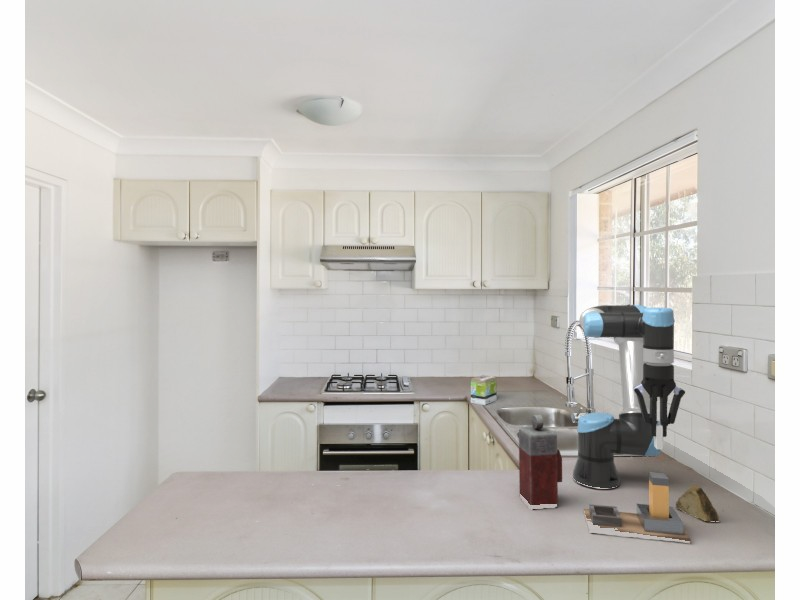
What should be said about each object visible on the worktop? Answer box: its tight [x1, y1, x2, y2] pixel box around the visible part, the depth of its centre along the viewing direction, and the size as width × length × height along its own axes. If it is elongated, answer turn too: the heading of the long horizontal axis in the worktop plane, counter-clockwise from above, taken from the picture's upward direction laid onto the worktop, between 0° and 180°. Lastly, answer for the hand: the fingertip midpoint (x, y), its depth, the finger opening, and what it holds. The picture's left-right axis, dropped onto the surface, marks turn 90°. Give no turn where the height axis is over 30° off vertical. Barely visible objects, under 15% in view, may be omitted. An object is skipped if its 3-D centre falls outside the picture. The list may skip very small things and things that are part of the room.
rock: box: [675, 484, 721, 522], centre depth 141 cm, size 11×9×10 cm
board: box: [583, 503, 691, 542], centre depth 134 cm, size 12×25×4 cm, turn 76°
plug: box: [648, 471, 670, 518], centre depth 132 cm, size 4×4×14 cm
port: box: [636, 503, 684, 536], centre depth 133 cm, size 9×9×4 cm
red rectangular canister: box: [518, 414, 563, 505], centre depth 151 cm, size 9×11×28 cm
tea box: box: [470, 374, 498, 406], centre depth 283 cm, size 15×10×15 cm
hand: (658, 447), depth 132 cm, fingers closed
